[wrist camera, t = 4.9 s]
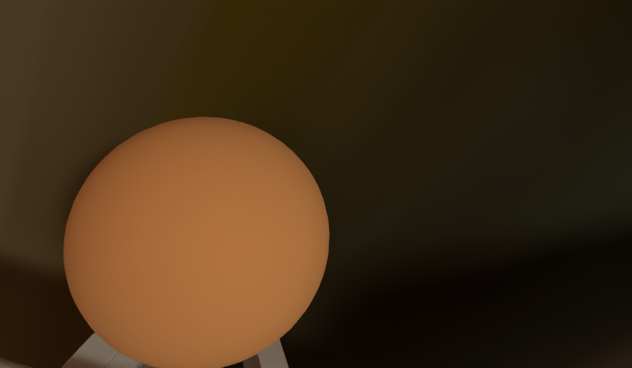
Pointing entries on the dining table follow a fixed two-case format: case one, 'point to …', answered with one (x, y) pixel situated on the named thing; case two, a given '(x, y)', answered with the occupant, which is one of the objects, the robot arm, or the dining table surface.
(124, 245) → the ball
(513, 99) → the dining table surface
